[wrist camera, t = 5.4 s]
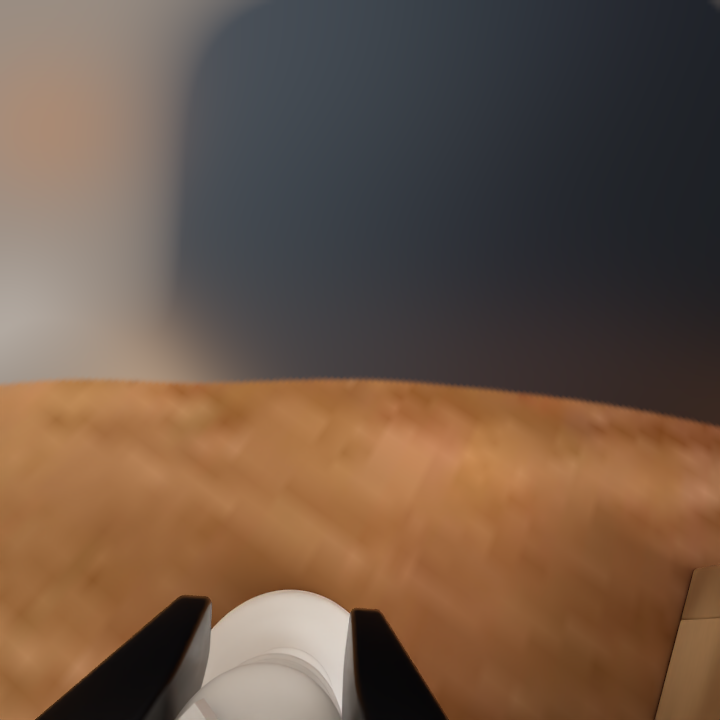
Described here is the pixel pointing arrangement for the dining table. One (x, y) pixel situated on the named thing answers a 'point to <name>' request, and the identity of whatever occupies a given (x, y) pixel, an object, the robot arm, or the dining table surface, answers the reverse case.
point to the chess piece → (275, 661)
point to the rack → (695, 654)
